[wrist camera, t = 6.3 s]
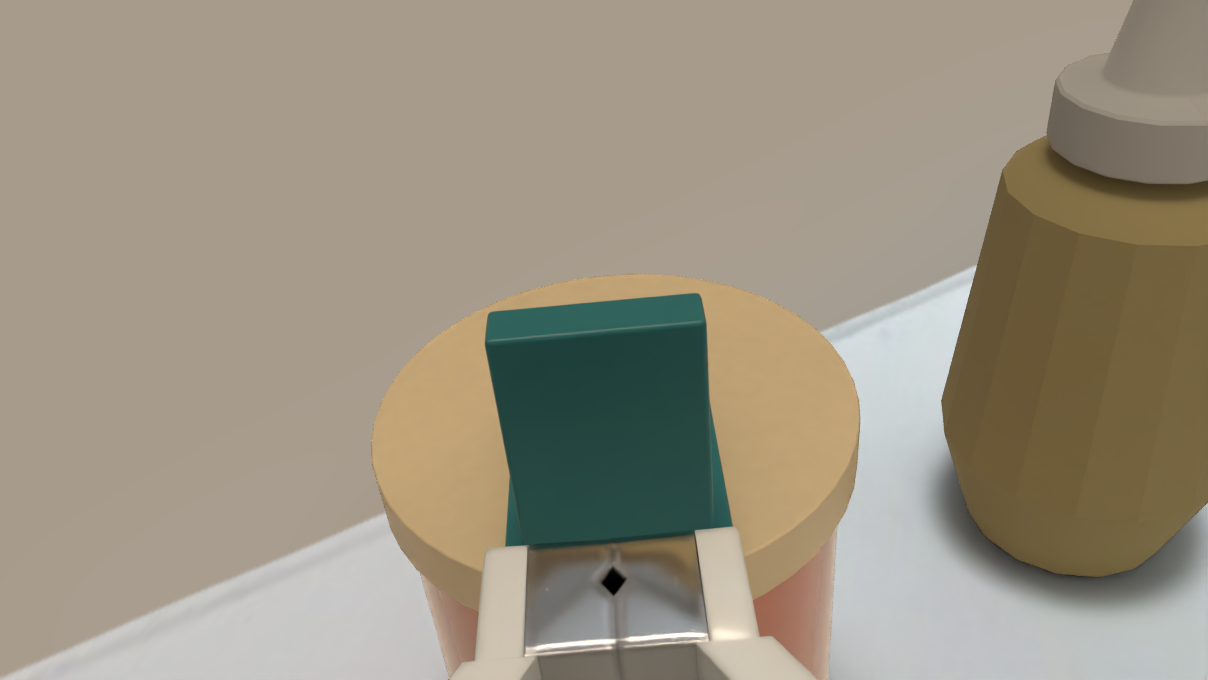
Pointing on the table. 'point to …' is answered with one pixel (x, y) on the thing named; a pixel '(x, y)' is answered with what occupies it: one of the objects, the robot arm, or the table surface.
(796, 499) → the cup lid
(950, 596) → the table surface
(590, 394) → the teal l-shaped bracket
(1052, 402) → the squeeze bottle
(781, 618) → the lidded orange canister
